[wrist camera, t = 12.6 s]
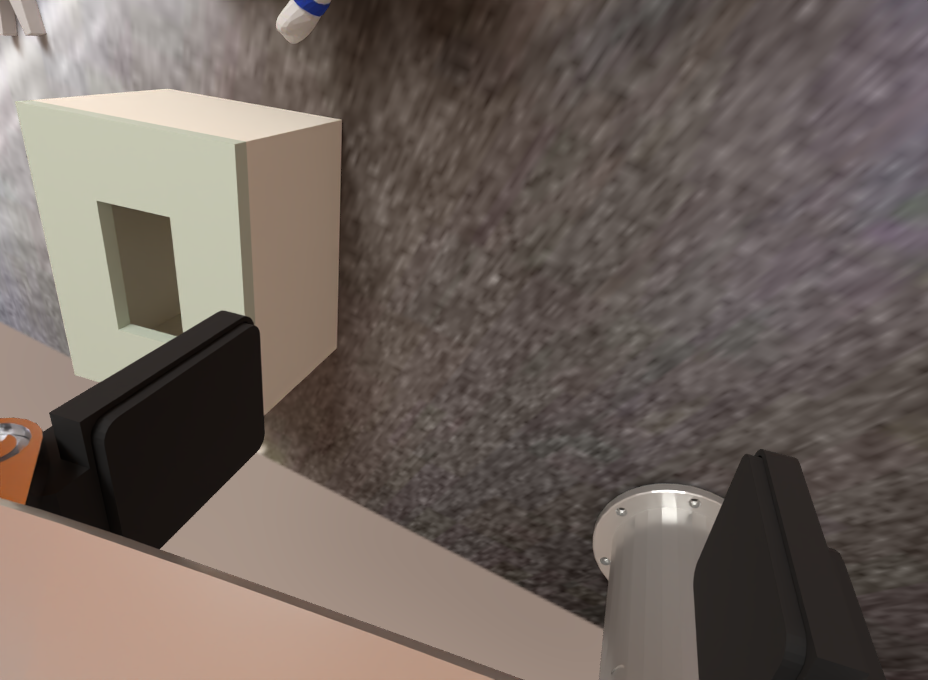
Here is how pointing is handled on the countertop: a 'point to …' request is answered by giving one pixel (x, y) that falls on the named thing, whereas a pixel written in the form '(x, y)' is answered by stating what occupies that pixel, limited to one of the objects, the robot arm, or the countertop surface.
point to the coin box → (188, 224)
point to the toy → (300, 18)
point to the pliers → (20, 17)
